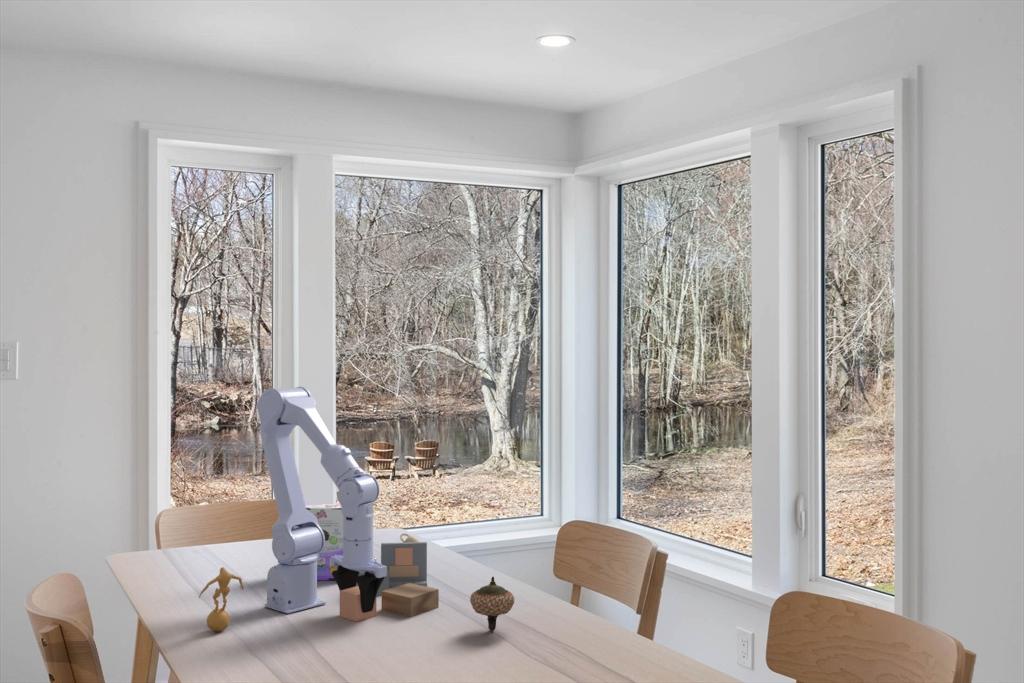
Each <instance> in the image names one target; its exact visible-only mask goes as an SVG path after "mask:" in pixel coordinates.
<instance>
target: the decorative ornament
mask: <svg viewBox="0 0 1024 683" xmlns="http://www.w3.org/2000/svg"><path fill="white" fill-rule="evenodd" d="M403 536H406V537H407V538H406V539H405V540H404V539H403ZM399 538H400V541H401V543H407V542H420V540H419V539H418V538H417V537H415V536H411V535H410V534H408V533H405V532H403V533H401V534H400V536H399Z"/></svg>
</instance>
